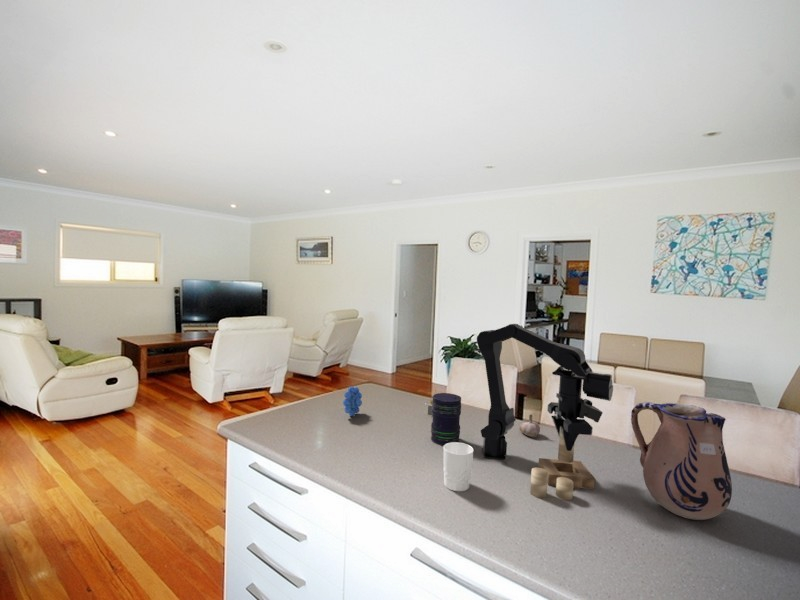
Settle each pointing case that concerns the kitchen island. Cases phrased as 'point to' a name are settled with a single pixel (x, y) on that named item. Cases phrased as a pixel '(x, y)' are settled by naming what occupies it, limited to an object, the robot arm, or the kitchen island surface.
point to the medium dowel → (539, 482)
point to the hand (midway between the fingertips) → (566, 447)
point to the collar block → (567, 472)
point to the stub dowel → (564, 488)
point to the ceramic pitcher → (685, 460)
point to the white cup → (457, 466)
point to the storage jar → (445, 418)
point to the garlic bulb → (530, 428)
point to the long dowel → (564, 451)
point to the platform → (429, 407)
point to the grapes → (352, 400)
